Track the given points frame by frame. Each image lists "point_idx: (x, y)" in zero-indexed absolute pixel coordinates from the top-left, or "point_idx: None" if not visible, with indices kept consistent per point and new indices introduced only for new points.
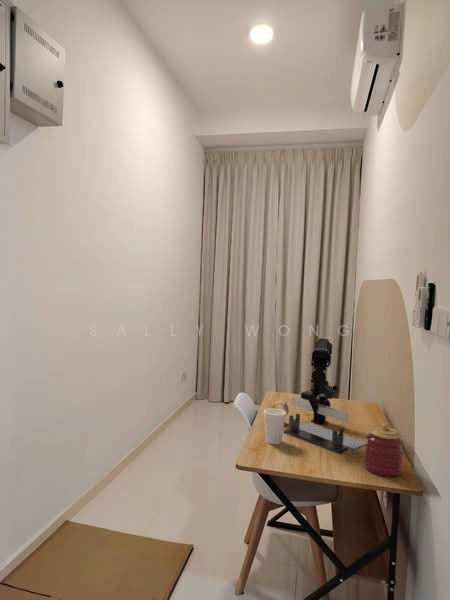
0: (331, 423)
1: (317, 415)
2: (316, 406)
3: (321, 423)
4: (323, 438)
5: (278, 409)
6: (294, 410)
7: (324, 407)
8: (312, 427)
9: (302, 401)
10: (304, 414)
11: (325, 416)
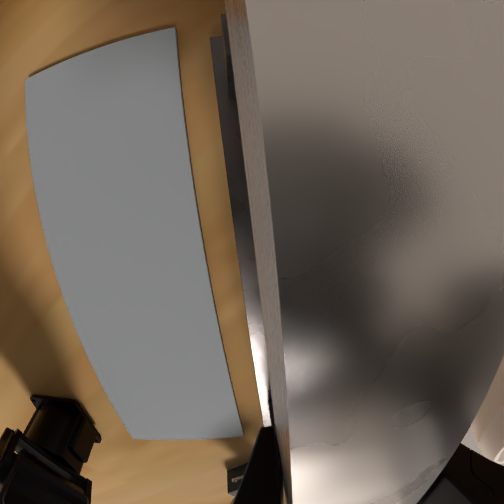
0: (21, 383)
1: (76, 446)
2: (479, 457)
3: (69, 405)
4: (242, 241)
5: (495, 459)
6: (104, 495)
7: (452, 416)
8: (146, 402)
9: None
10: (87, 472)
11: (34, 422)
